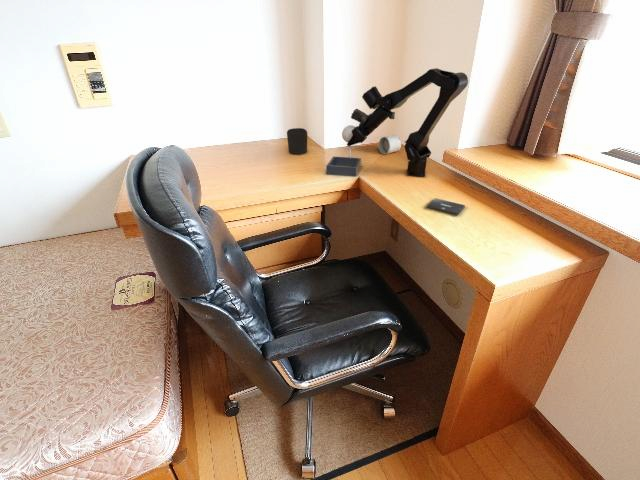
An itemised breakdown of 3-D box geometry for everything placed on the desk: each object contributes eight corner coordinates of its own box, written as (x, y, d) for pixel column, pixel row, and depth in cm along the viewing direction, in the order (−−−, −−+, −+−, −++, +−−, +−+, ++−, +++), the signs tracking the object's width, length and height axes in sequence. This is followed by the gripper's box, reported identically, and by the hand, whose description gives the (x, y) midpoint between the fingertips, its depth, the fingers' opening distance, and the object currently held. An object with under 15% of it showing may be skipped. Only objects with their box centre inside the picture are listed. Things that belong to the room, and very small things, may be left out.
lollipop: (356, 157, 158) (358, 123, 150) (358, 162, 152) (360, 127, 144) (341, 158, 158) (341, 123, 150) (342, 163, 151) (343, 127, 144)
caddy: (360, 166, 148) (361, 158, 146) (356, 176, 138) (356, 167, 136) (333, 164, 151) (333, 156, 149) (326, 174, 141) (326, 165, 139)
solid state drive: (458, 215, 108) (458, 213, 108) (426, 207, 113) (427, 205, 113) (464, 207, 113) (465, 205, 113) (434, 199, 118) (435, 197, 118)
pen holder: (311, 150, 167) (311, 129, 162) (300, 156, 160) (299, 134, 155) (295, 148, 171) (294, 127, 166) (284, 153, 165) (282, 131, 159)
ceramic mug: (401, 152, 162) (403, 136, 158) (388, 156, 159) (390, 138, 155) (386, 147, 170) (387, 131, 166) (373, 150, 166) (374, 134, 162)
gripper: (369, 98, 148) (343, 123, 157) (357, 107, 133) (330, 134, 142) (386, 119, 149) (360, 142, 159) (376, 129, 135) (348, 155, 144)
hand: (349, 143), depth 151 cm, fingers open, 7 cm apart
